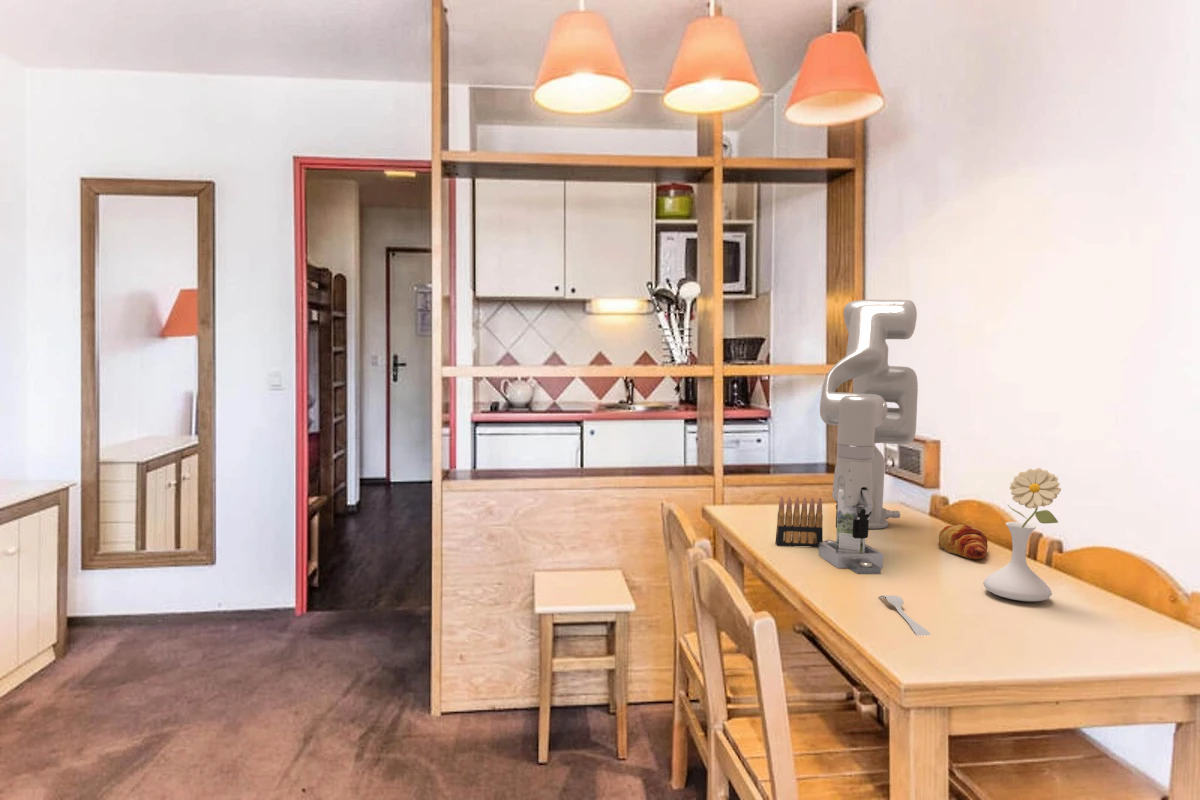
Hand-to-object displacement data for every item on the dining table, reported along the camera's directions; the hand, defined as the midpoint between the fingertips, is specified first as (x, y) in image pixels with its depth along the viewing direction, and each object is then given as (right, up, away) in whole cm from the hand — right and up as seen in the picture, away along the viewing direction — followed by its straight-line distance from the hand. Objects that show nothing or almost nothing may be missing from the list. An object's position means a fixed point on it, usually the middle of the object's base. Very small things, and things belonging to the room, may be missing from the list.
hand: (851, 532), depth 162 cm
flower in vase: (+24, -9, -22) cm, 34 cm away
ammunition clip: (-8, -6, +13) cm, 17 cm away
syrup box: (0, -5, 0) cm, 5 cm away
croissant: (+30, -7, +12) cm, 33 cm away
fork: (-2, -9, -33) cm, 35 cm away
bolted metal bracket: (0, -6, +2) cm, 7 cm away
